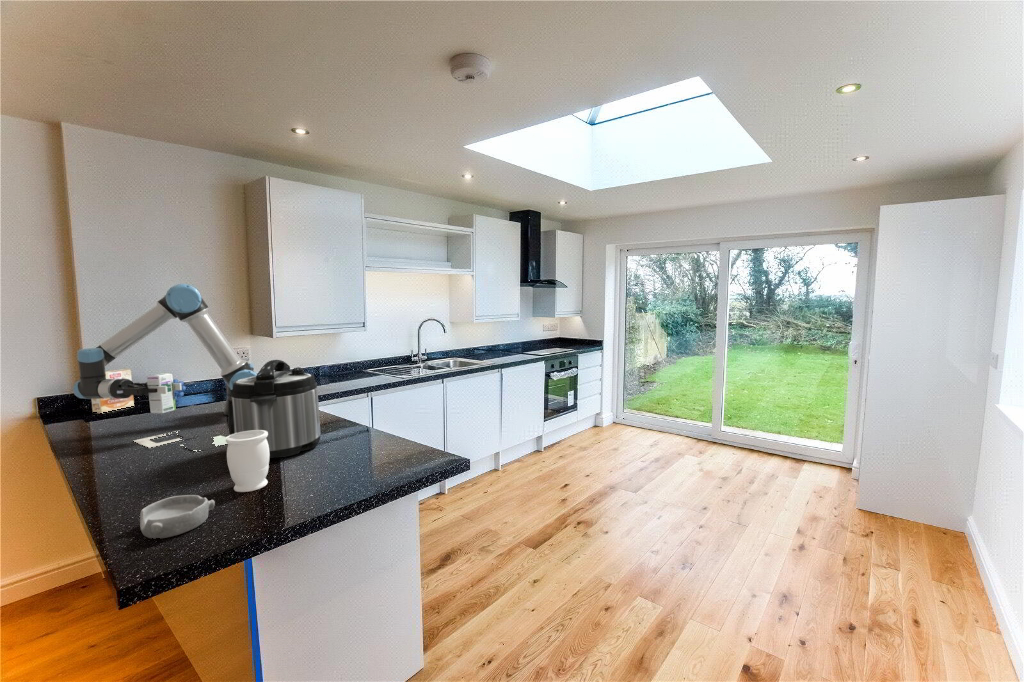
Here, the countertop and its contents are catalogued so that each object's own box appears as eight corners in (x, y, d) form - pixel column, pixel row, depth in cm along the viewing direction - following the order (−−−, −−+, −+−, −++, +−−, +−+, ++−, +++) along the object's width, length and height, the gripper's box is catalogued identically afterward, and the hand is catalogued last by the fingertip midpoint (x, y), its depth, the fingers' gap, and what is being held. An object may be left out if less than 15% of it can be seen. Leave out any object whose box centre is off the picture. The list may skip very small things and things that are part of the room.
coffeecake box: (101, 413, 226) (97, 374, 224) (92, 413, 228) (87, 373, 226) (135, 406, 240) (131, 369, 238) (125, 406, 242) (122, 368, 240)
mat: (220, 436, 182) (220, 435, 182) (238, 441, 174) (238, 440, 174) (179, 446, 171) (179, 445, 171) (196, 452, 163) (196, 451, 163)
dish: (160, 546, 100) (158, 524, 100) (124, 534, 106) (122, 513, 106) (226, 517, 113) (224, 497, 113) (190, 507, 119) (189, 488, 119)
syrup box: (162, 413, 176) (159, 375, 174) (149, 413, 177) (146, 375, 176) (176, 410, 181) (173, 373, 180) (163, 409, 182) (160, 372, 181)
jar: (241, 480, 136) (237, 430, 135) (277, 478, 137) (274, 428, 136) (221, 495, 126) (217, 441, 124) (261, 493, 127) (257, 439, 125)
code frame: (181, 431, 191) (181, 430, 191) (198, 437, 182) (198, 435, 182) (133, 441, 178) (132, 440, 178) (149, 448, 169) (148, 447, 169)
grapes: (185, 398, 257) (183, 377, 256) (187, 400, 252) (185, 378, 251) (159, 402, 249) (157, 380, 248) (161, 404, 244) (159, 381, 243)
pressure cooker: (284, 433, 184) (278, 354, 181) (340, 440, 173) (335, 355, 170) (210, 459, 156) (202, 365, 153) (272, 468, 146) (265, 368, 143)
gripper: (140, 393, 189) (193, 392, 188) (94, 403, 170) (153, 403, 169) (138, 375, 189) (191, 374, 187) (92, 383, 170) (151, 383, 168)
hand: (173, 388), depth 178 cm, fingers closed on syrup box, 6 cm apart
